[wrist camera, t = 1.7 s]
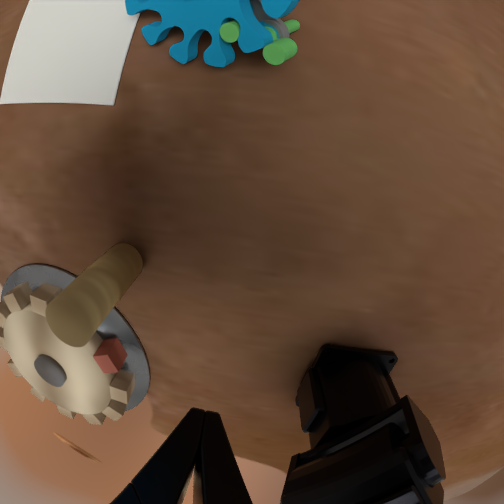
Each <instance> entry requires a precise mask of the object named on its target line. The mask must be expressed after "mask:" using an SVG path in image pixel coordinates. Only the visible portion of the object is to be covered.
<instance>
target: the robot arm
mask: <svg viewBox="0 0 504 504" xmlns="http://www.w3.org/2000/svg"><path fill="white" fill-rule="evenodd" d="M326 351H329V352H326ZM390 359H391V360H390ZM397 360H398V358H397V356H396V354H395V353H391V352H382V351H374V350H366V349H358V348H351V347H344V346H337V345H330V344H327V345H324V346H323V347H322V348H321V349H320V351H319V353H318V355H317V357H316V359H315V362H314V364H313V366H312V368H309V369H308V370H307V372H306V374H305V376H304V378H303V380H302V382H301V384H300V386H299V388H298V390H297V394H298V395H297V397H296V400H295V401H296V405H297V406H299V410H300V418H301V427H302V430H303V432H305V433H309V438H310V445H311V449H310V450H308V451H306V452H304V453H301V454H300V453H298V454H296V455H294V456H292V457H291V462H290V465H289V469H288V473H287V477H286V481H285V485H284V489H283V492H282V496H281V500H280V504H443V499H444V490H443V488H442V485H441V483H440V482H441V481H443V480H445V478H446V475H445V468H444V462H443V457H442V451H441V446H440V442H439V440H438V438H437V436H436V434H435V432H434V430H433V428H432V426H431V424H430V422H429V420H428V419H427V417H426V416H425V415H424V414H423V413H422V412H421V410H420V409H419V408H418V407H417V406H416V404H415V403H414V402H413V401H412V400H411V399H410V397H409V396H408V395H406V396H404V397H403V398H401V399H400V397H399V395H398V393H397V390H396V388H395V386H394V384H393V382H392V379H391V377H390V375H389V373H390V372H391V370H392V368H393V367H394V365H395V364H396V362H397ZM194 466H195V467H194ZM193 470H194V483H193V484H194V485H193V504H253V503H252V501H251V498H250V496H249V493H248V491H247V489H246V486H245V483H244V481H243V478H242V476H241V473H240V470H239V468H238V465H237V462H236V460H235V457H234V454H233V451H232V449H231V446H230V443H229V440H228V437H227V434H226V431H225V429H224V426H223V423H222V420H221V417H220V414H219V413H217V412H213V411H206V412H205V410H203V409H199V408H194V407H193V408H191V409H190V410H189V412H188V413H187V414H186V415H185V417H184V418H183V419H182V420H181V422H180V423H179V424H178V425H177V427H176V428H175V429H174V430H173V432H172V433H171V434H170V435H169V436H168V438H167V439H166V440H165V441H164V443H163V444H162V445H161V446H160V448H159V449H158V450H157V451H156V452H155V453H154V455H153V456H152V457H151V458H150V459H149V461H148V462H147V463H146V464H145V465H144V467H143V468H142V469H141V470H140V471H139V472H138V474H137V475H136V476H135V477H134V478H133V479H132V481H131V483H129V484H128V485H127V486H126V487H125V488H124V490H123V491H122V492H121V493H120V494H119V495H118V496H117V497H116V498H115V499H114V500H113V501H112V502H111V503H110V504H182V502H183V500H184V497H185V494H186V491H187V488H188V485H189V482H190V479H191V476H192V473H193Z"/></svg>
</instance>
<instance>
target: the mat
mask: <svg viewBox="0 0 504 504" xmlns="http://www.w3.org/2000/svg"><path fill="white" fill-rule="evenodd" d="M140 13H141V12H140ZM140 13H138V14H135V15H128V14H127V11H126V6H125V0H30V1H29V3H28V6H27V8H26V11H25V13H24V16H23V19H22V21H21V24H20V27H19V30H18V33H17V36H16V39H15V42H14V45H13V49H12V52H11V55H10V59H9V63H8V67H7V71H6V75H5V79H4V83H3V88H2V93H1V98H0V104H11V103H83V104H101V105H114V103H115V98H116V94H117V90H118V86H119V82H120V78H121V74H122V70H123V66H124V63H125V59H126V56H127V52H128V49H129V46H130V42H131V39H132V36H133V33H134V30H135V27H136V24H137V21H138V19H139V16H140Z"/></svg>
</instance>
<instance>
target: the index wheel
mask: <svg viewBox="0 0 504 504" xmlns="http://www.w3.org/2000/svg"><path fill="white" fill-rule="evenodd" d="M142 267H143V263H142V258H141V256H140V254H139V252H138V251H137V250H136V249H135V248H134V247H133V246H131V245H129V244H126V243H118V244H116V245H114V246H113V247H111V248H110V249H109V250H108V251H107V252H106V253H104V254H103V255H102V256H101V257H100V258H98V259H97V260H96V261H95V262H94V263H93V264H92V265H90V266H89V267H88V268H87V269H86V270H85V271H84V272H82V273H81V274H80V275H79V276H78V277H77V278H76V279H75V280H73V281H72V282H71V283H70V284H69V285H68V286H67V287H66V288H65V289H64V290H63V291H61V288H59V287H56V286H54V285H51V284H48V283H45V282H44V283H43V284H42V285H41V286H39V287H38V288H37V289H36V290H35V291H34V292H32V290H31V288H30V286H29V284H28V282H24V283H22V284H19V285H17V286H16V287H14V288H13V289H12V290H11V291H9V292H8V293H7V294H6V295H4V296H3V298H4V299H3V300H2V301H1V302H0V326H1V327H0V348H2V349H4V350H5V351H7V352H9V354H10V357H11V359H10V361H9V362H8V363H7V364H8V366H9V367H10V369H11V370H12V372H13V373H14V374H15V376H16V377H24V378H25V379H26V380H27V381H28V382H29V383H30V384H31V385H32V386H33V387H32V389H31V391H30V392H31V393H32V394H33V395H34V396H36V397H37V398H38V399H39V400H41V401H42V402H43V401H44V399H45V398H47V399H49V400H50V401H52V402H53V403H55V404H57V407H58V410H59V413H61V414H63V415H65V416H67V417H69V418H71V419H74V416H75V415H76V413H80V414H82V415H83V416H84V418H85V419H86V420H87V421H88V422H89V423H90V424H103V422H104V419H105V417H106V416H108V417H109V418H111V419H112V420H114V421H116V420H118V419H119V418H120V417H122V416H123V414H124V412H125V409H126V407H127V404H128V402H129V400H130V397H131V395H132V392H133V390H134V388H135V374H132V373H129V372H126V371H123V370H120V369H121V367H122V365H123V363H124V361H125V359H126V357H127V355H128V354H127V352H126V351H125V349H124V348H123V346H122V344H121V343H120V341H119V339H118V338H114V339H108V340H102V338H101V337H100V336H99V335H98V333H97V332H96V330H97V329H98V328H99V326H100V325H101V324H102V322H103V321H104V320H105V318H106V317H107V315H108V314H109V313H110V311H111V310H112V309H113V308H114V306H115V305H116V304H117V302H118V301H119V300H120V298H121V297H122V296H123V294H124V293H125V292H126V291H127V289H128V288H129V287H130V286H131V284H132V283H133V282H134V280H135V279H136V278H137V277H138V275H139V274H140V273H141V271H142Z"/></svg>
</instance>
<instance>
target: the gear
mask: <svg viewBox="0 0 504 504" xmlns="http://www.w3.org/2000/svg"><path fill="white" fill-rule="evenodd" d="M298 2H299V0H125V6H126V11H127V14H128V15H135V14H138V13H140V12H143V11H145V10H147V9H150V10H154V11H157V12H159V13H160V15H161V17H162V22H161V21H156V22H153V23H151V24H148V25H146V26H144V27H143V28H142V30H141V31H142V34H143V36H144V38H145V39H146V41H147V42H148V43H149V44H150V45H153V44H155V43H158V42H160V41H162V40H164V39H165V38H166V37H167V35H168V33H169V31H170V30H171V29H172V28H173V27H174V26H178V27H180V28H181V29H182V30H183V32H184V39H183V40H182V41H180V42H178V43H176V44H174V45H172V46H171V47H170V50H169V54H170V55H171V56H172V57H173V58H174V59H175V60H177V61H178V62H180V63H181V64H185V63H187V62H189V61H191V60H193V59H195V58H196V57H197V54H198V41H199V38H200V36H201V34H202V33H203V32H204V31H205V30H207V31H208V32H209V33H210V34H211V36H212V43H211V45H210V46H209V47H208V48H207V49H206V50H205V52H204V61H205V63H206V64H208V65H211V66H215V67H225V66H227V65H228V64H230V63H232V62H233V61H234V60H235V52H234V50H233V48H232V46H231V42H235V41H237V40H238V44H239V47H240V49H241V50H242V51H243V52H244V53H250V52H254V51H256V50H258V49H260V48H262V49H263V56H264V58H265V60H266V61H267V62H268V63H270V64H272V65H279V64H281V63H283V62H285V61H286V60H288V59H289V58H291V57H293V56H294V55H295V54H296V53H297V45H296V43H295V42H294V41H293V40H292V39H290V38H289V33H292V32H294V31H296V30H298V29H299V28H300V24H299V22H298V21H297V20H295V19H291V20H288V21H285V22H283V21H282V20H281V19H280V18H281V17H284V16H286V15H288V14H289V13H290V12H291V11H292V10H293V9H294V8H295V7H296V5H297V3H298ZM232 18H234V19H235V20H233V21H231V20H232Z"/></svg>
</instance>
